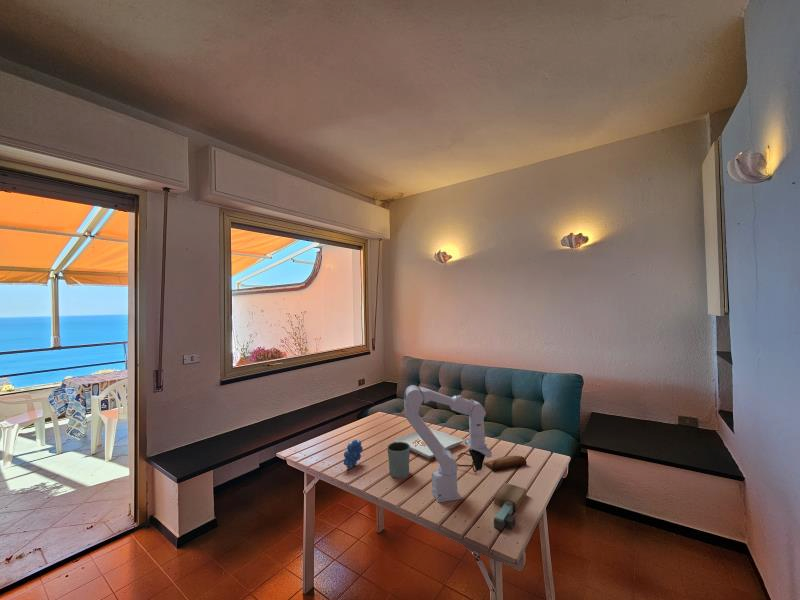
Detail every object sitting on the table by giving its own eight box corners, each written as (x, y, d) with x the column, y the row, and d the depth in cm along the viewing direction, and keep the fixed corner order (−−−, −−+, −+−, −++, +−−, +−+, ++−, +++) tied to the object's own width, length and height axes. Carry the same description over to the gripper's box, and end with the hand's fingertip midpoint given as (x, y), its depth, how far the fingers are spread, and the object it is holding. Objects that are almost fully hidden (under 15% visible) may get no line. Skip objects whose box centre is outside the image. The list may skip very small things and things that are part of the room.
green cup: (405, 466, 147) (405, 440, 147) (414, 476, 137) (413, 448, 138) (384, 471, 143) (384, 443, 144) (392, 481, 134) (391, 452, 134)
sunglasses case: (514, 457, 153) (519, 448, 150) (523, 470, 147) (528, 461, 144) (482, 464, 147) (486, 454, 144) (490, 478, 141) (494, 468, 139)
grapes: (355, 459, 156) (355, 434, 156) (366, 463, 152) (365, 437, 152) (337, 468, 146) (337, 442, 147) (347, 473, 142) (347, 445, 143)
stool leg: (506, 507, 113) (506, 500, 113) (514, 510, 112) (513, 502, 112) (494, 527, 103) (493, 518, 103) (502, 530, 102) (501, 521, 102)
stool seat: (530, 496, 120) (530, 489, 120) (511, 529, 102) (511, 521, 102) (505, 488, 126) (504, 482, 126) (482, 519, 108) (482, 511, 108)
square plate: (392, 446, 171) (392, 439, 171) (427, 433, 189) (427, 426, 189) (430, 463, 151) (429, 454, 151) (464, 446, 169) (464, 438, 169)
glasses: (474, 474, 139) (474, 462, 139) (446, 467, 146) (446, 456, 146) (483, 462, 150) (483, 451, 150) (457, 456, 157) (457, 446, 157)
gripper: (497, 438, 119) (499, 475, 119) (474, 426, 133) (475, 459, 132) (482, 441, 117) (483, 479, 116) (459, 429, 130) (461, 463, 129)
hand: (478, 469), depth 124 cm, fingers closed
